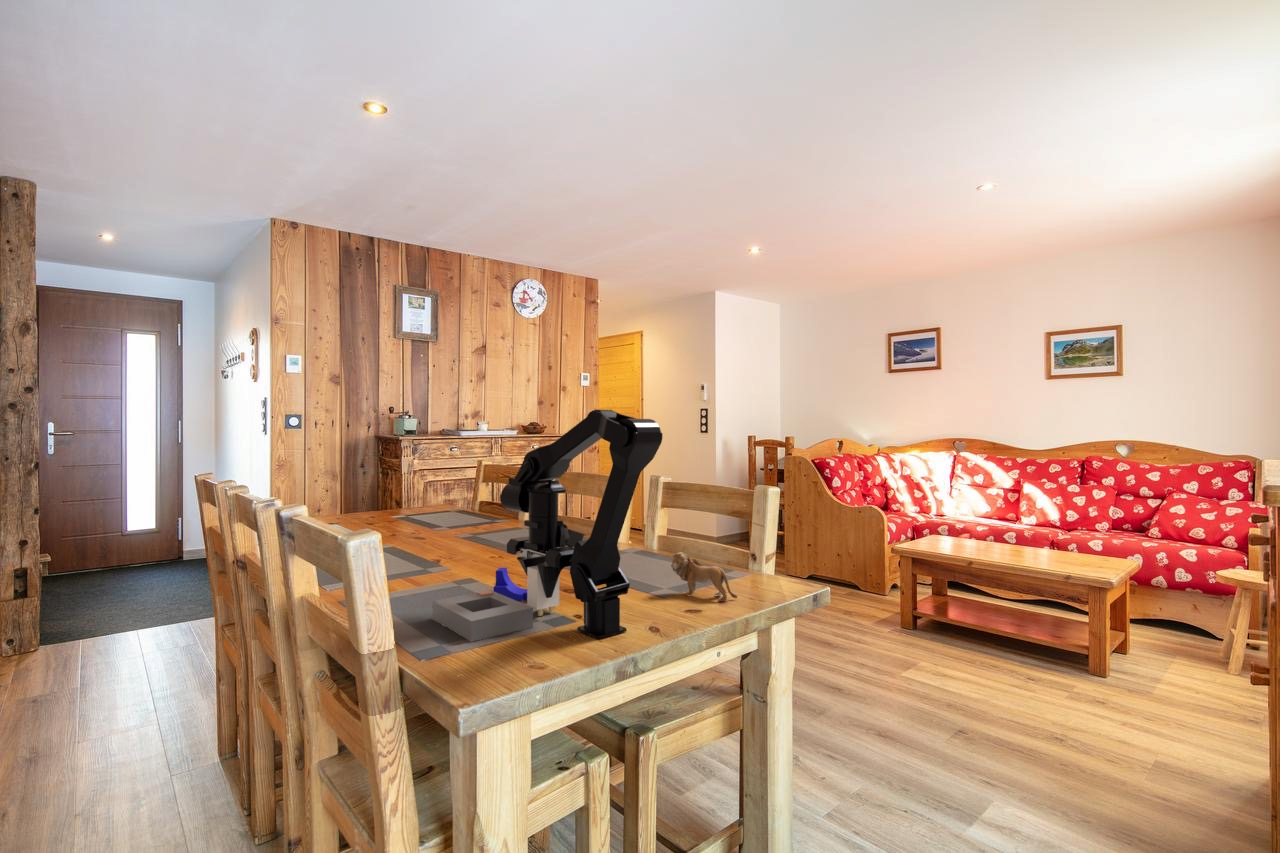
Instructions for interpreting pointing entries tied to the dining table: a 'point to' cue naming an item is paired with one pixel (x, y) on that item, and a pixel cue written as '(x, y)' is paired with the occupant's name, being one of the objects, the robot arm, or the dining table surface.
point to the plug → (540, 592)
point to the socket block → (482, 615)
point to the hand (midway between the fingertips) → (543, 595)
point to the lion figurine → (699, 574)
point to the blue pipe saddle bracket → (508, 586)
